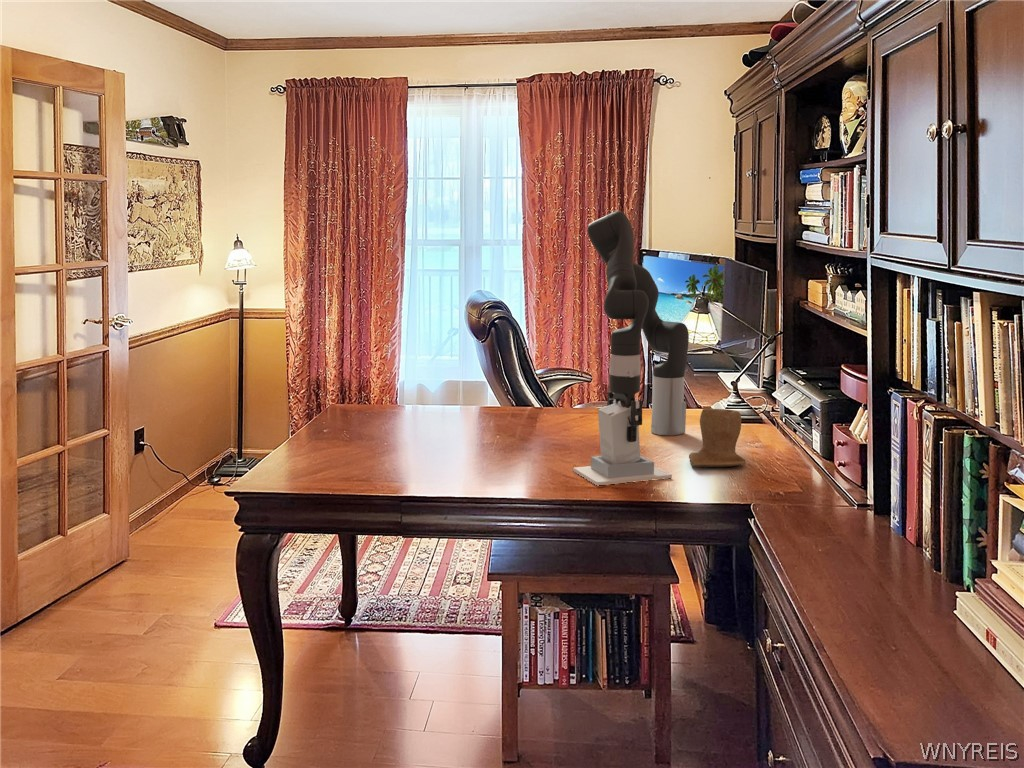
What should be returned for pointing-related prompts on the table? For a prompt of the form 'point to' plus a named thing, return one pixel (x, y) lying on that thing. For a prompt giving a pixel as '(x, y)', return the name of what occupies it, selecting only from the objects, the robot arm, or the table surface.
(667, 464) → the table surface
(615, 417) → the skincare box
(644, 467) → the socket board
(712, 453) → the tan flared vase
